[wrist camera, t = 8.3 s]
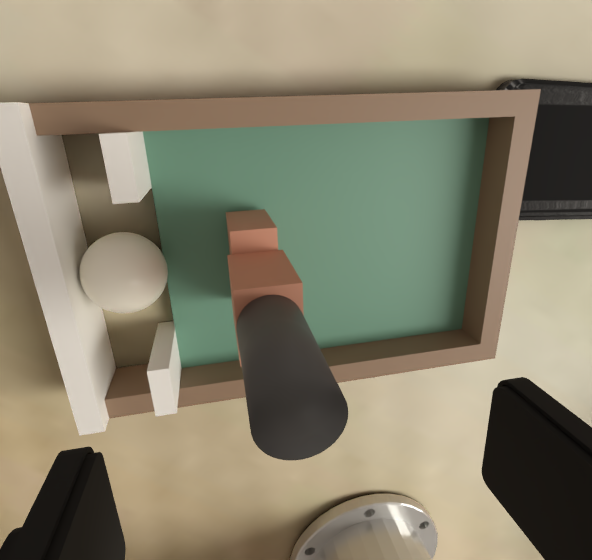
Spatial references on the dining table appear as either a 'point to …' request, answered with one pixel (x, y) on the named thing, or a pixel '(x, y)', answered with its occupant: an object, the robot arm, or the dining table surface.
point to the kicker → (278, 346)
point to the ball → (123, 272)
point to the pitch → (281, 229)
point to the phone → (558, 151)
